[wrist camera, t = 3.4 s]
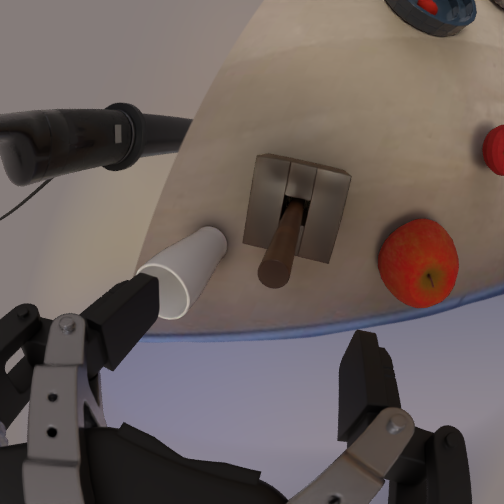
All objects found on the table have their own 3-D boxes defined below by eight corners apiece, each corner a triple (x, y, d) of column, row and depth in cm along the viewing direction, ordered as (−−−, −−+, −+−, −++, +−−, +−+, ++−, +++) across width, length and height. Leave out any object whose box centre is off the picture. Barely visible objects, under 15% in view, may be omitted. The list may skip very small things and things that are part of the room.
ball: (414, 14, 20) (421, 6, 17) (414, 0, 19) (420, -9, 16) (433, 22, 20) (441, 15, 17) (433, 8, 19) (440, 0, 16)
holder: (255, 225, 38) (242, 243, 31) (267, 153, 34) (256, 155, 27) (326, 242, 36) (328, 264, 30) (344, 170, 32) (351, 176, 26)
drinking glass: (242, 249, 39) (203, 305, 26) (209, 271, 42) (162, 329, 29) (213, 211, 38) (158, 250, 25) (181, 236, 41) (123, 281, 27)
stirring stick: (290, 203, 35) (254, 284, 16) (293, 190, 35) (260, 256, 15) (304, 206, 35) (285, 292, 15) (306, 193, 35) (292, 264, 15)
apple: (409, 195, 31) (442, 216, 22) (454, 246, 32) (488, 279, 22) (358, 253, 36) (371, 293, 26) (406, 297, 36) (425, 341, 27)
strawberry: (459, 147, 27) (499, 152, 18) (484, 115, 24) (525, 113, 14) (481, 179, 27) (521, 194, 18) (505, 147, 24) (546, 154, 15)
